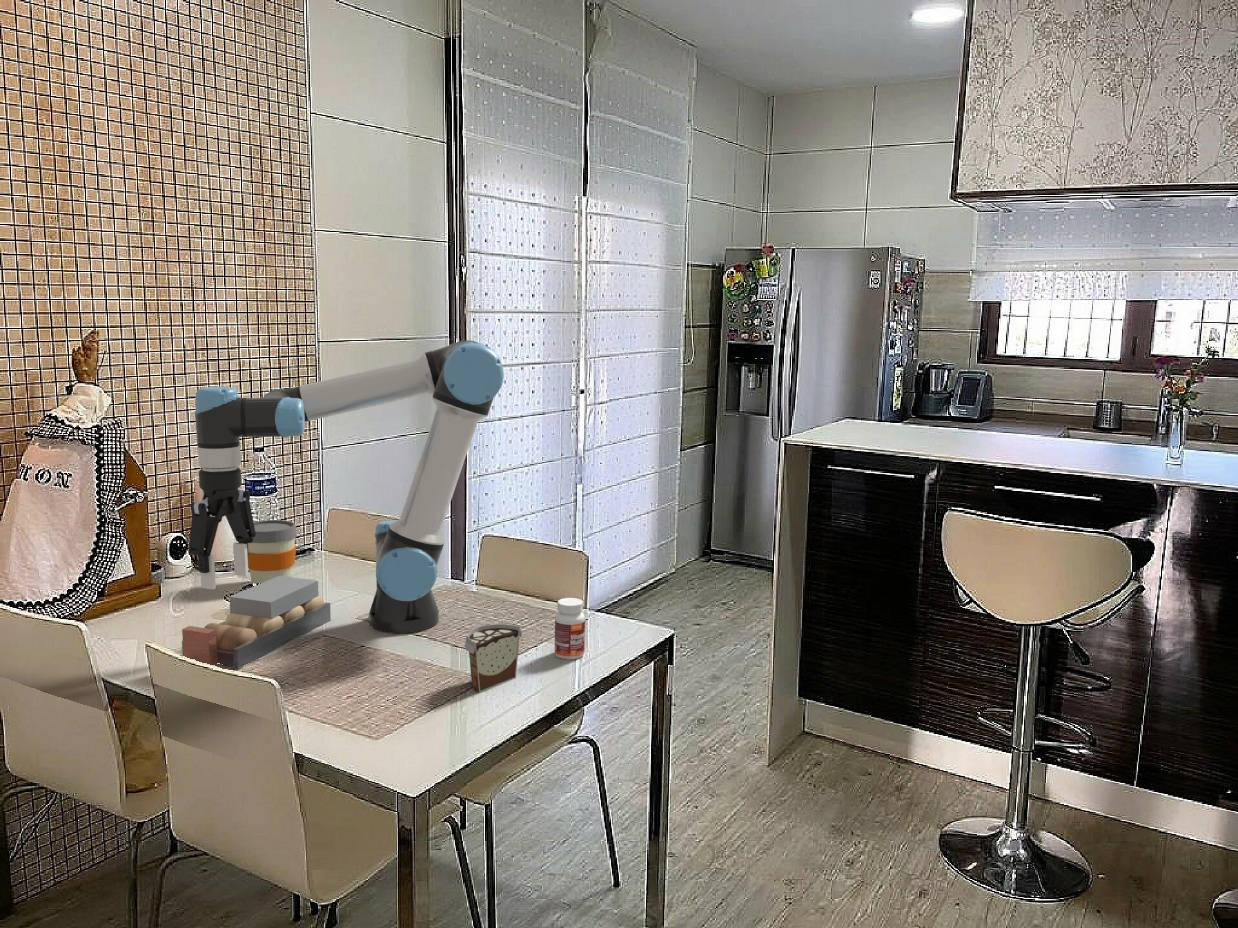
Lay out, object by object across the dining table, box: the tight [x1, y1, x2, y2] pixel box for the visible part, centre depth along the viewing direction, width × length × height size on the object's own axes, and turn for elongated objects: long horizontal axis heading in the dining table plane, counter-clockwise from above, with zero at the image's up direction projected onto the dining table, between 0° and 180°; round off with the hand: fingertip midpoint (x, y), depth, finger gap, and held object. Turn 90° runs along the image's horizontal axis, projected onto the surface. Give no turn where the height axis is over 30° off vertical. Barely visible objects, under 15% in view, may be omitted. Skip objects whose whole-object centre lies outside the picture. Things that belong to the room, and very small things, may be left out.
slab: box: [229, 576, 320, 619], centre depth 198 cm, size 10×16×4 cm, turn 163°
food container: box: [464, 623, 523, 694], centre depth 175 cm, size 12×6×10 cm, turn 141°
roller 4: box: [299, 595, 325, 613], centre depth 205 cm, size 10×6×6 cm, turn 73°
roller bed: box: [181, 602, 332, 670], centre depth 192 cm, size 13×34×8 cm, turn 163°
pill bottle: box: [554, 597, 586, 661], centre depth 189 cm, size 6×6×11 cm
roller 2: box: [224, 612, 284, 637], centre depth 192 cm, size 10×6×6 cm, turn 73°
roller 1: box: [203, 622, 257, 652], centre depth 185 cm, size 9×6×6 cm, turn 72°
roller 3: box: [278, 606, 305, 623], centre depth 198 cm, size 10×6×6 cm, turn 73°
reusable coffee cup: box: [247, 519, 298, 584], centre depth 229 cm, size 13×12×15 cm
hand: (225, 581), depth 182 cm, fingers open, 9 cm apart
